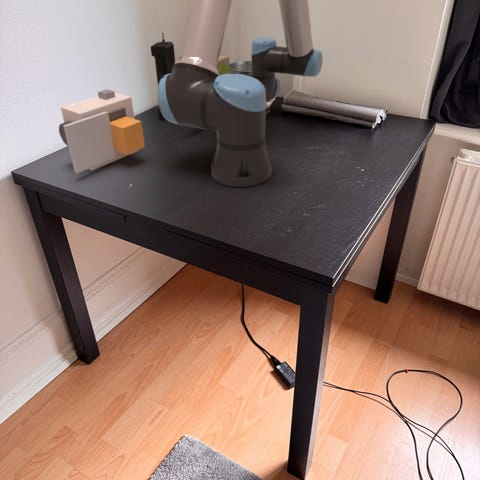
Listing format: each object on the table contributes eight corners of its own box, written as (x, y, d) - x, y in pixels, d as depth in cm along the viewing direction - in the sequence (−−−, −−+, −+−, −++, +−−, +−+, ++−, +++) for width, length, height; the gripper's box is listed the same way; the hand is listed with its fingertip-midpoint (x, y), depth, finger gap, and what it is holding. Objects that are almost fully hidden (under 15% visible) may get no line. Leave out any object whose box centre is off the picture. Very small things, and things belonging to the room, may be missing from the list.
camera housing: (140, 150, 127) (132, 91, 118) (87, 173, 116) (72, 110, 106) (120, 143, 132) (111, 86, 122) (67, 165, 120) (52, 103, 111)
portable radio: (175, 122, 145) (167, 38, 131) (157, 121, 146) (147, 38, 132) (182, 113, 152) (176, 33, 137) (165, 112, 153) (157, 32, 138)
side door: (145, 154, 121) (139, 109, 114) (89, 178, 109) (78, 131, 102) (130, 148, 124) (123, 105, 117) (74, 172, 112) (63, 125, 105)
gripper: (277, 118, 136) (233, 140, 123) (214, 102, 149) (168, 121, 135) (278, 93, 132) (232, 113, 118) (213, 79, 145) (165, 96, 131)
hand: (198, 117), depth 127 cm, fingers open, 13 cm apart
